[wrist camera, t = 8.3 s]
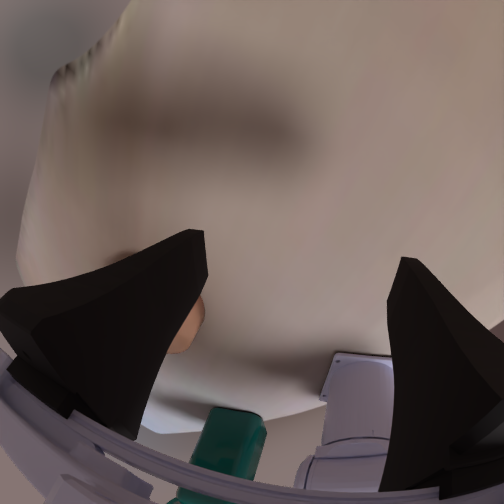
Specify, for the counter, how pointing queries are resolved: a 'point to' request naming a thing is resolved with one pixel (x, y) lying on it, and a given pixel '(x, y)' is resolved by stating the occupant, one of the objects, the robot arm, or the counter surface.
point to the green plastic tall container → (226, 450)
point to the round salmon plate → (188, 329)
